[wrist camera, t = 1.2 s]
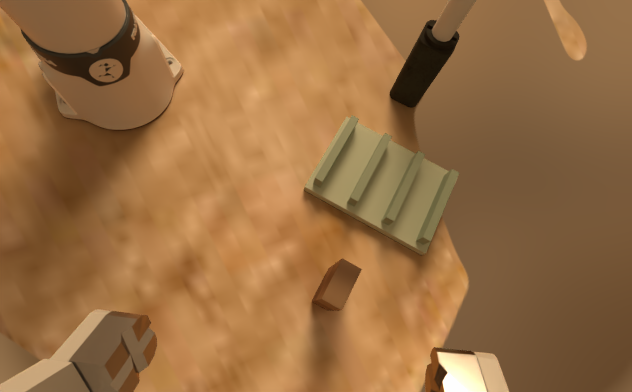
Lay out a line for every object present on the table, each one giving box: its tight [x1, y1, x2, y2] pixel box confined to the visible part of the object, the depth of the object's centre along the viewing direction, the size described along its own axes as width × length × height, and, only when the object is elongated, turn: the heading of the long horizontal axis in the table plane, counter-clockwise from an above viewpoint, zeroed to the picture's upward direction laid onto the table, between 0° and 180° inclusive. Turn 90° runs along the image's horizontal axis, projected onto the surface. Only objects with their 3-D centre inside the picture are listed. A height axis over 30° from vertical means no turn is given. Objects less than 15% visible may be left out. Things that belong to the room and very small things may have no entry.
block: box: [312, 259, 362, 310], centre depth 42 cm, size 5×2×10 cm, turn 152°
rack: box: [304, 115, 459, 255], centre depth 51 cm, size 14×20×4 cm
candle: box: [390, 0, 476, 107], centre depth 47 cm, size 5×5×25 cm
